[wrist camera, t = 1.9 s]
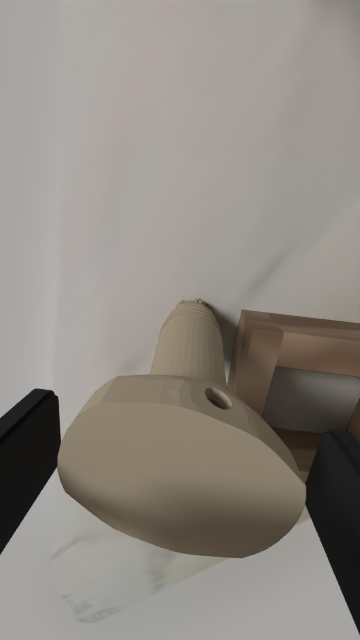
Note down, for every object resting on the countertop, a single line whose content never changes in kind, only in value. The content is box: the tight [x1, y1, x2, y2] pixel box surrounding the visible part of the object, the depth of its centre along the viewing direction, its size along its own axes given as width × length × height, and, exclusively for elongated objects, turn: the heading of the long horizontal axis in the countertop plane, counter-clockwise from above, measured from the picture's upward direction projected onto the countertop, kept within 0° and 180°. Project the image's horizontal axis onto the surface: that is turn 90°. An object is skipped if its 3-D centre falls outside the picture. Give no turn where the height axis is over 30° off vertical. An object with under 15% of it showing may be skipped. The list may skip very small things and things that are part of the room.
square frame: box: [227, 310, 360, 483], centre depth 20 cm, size 14×14×4 cm
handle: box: [58, 299, 306, 558], centre depth 13 cm, size 5×6×15 cm
